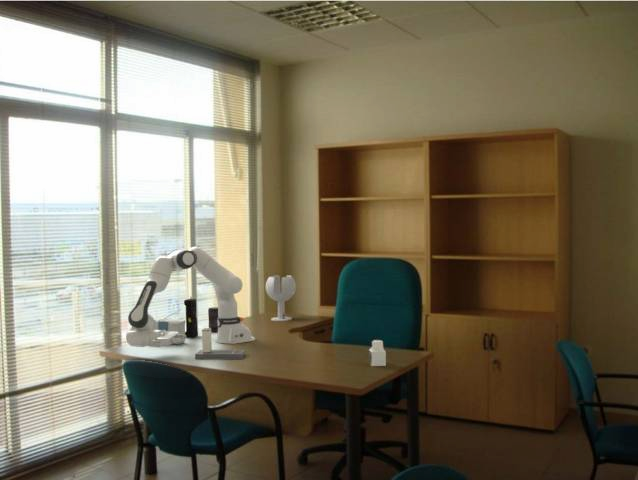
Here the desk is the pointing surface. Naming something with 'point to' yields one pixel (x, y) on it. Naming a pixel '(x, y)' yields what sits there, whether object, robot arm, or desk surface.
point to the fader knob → (206, 340)
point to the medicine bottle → (377, 353)
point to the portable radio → (191, 318)
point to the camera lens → (213, 318)
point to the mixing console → (220, 354)
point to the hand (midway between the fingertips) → (183, 338)
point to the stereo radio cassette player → (170, 326)
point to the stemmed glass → (281, 293)
